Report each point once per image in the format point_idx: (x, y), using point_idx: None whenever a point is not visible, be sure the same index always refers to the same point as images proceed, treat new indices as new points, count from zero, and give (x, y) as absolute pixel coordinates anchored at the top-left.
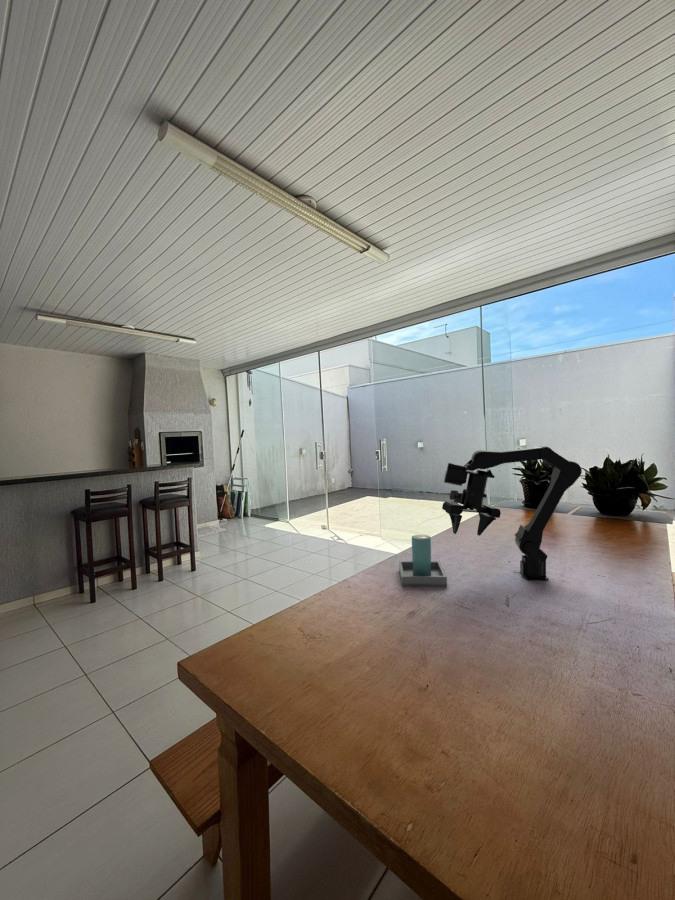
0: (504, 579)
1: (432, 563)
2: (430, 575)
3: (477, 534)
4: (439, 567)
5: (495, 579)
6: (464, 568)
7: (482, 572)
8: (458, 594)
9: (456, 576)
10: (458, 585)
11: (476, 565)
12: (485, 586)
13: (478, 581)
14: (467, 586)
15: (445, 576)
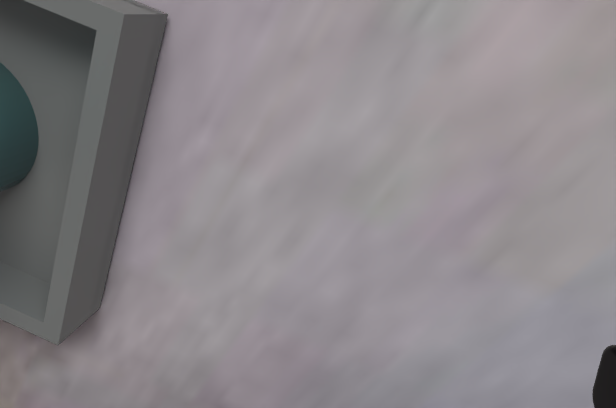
0: (556, 371)
1: (59, 12)
2: (9, 186)
3: (603, 355)
4: (81, 144)
5: (490, 344)
6: (412, 47)
7: (502, 194)
8: (127, 401)
9: (243, 182)
10: (181, 313)
11: (589, 13)
12: (337, 394)
13: (345, 319)
14: (228, 347)
15: (51, 336)
